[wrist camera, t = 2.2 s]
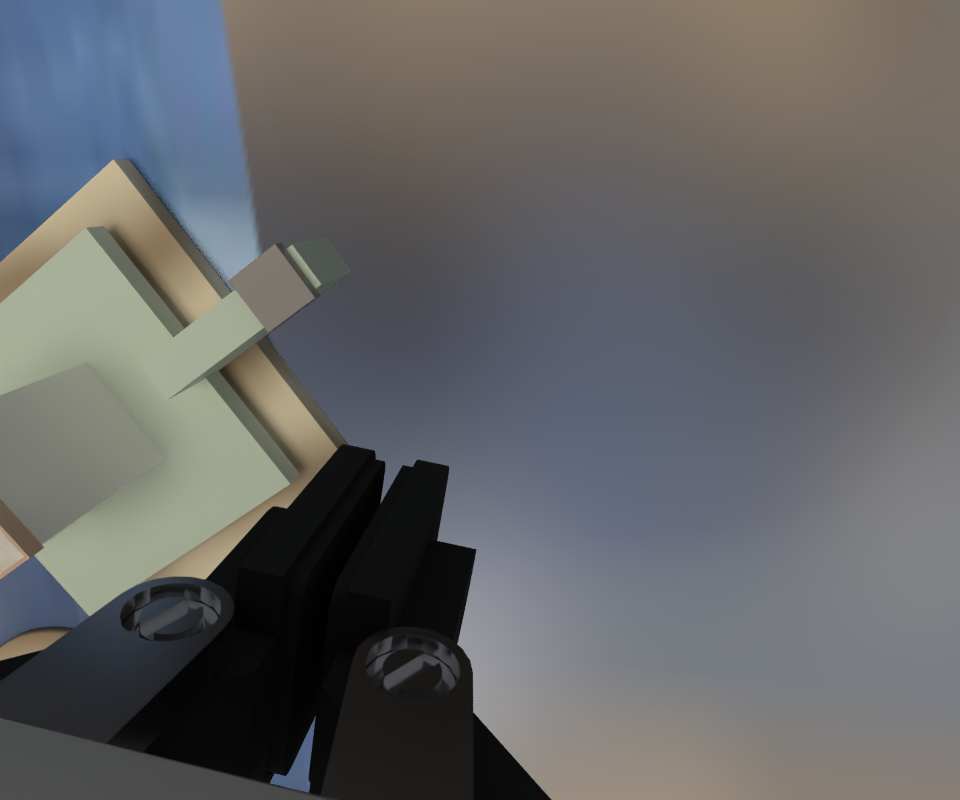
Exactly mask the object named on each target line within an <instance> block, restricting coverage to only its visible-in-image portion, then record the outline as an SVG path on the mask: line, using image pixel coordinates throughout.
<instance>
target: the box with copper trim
mask: <svg viewBox="0 0 960 800" xmlns="http://www.w3.org/2000/svg"><path fill="white" fill-rule="evenodd" d="M165 458H167V457H166V456H165V455H164V454H163V453H162V451H161V450H160V449H159V448H158V447H157V445H156V444H155V443H154V442H153V441H152V439H151V438H150V437H149V436H148V435H147V433H146V432H145V431H144V430H143V429H142V427H141V426H140V425H139V424H138V423H137V421H136V420H135V419H134V418H133V417H132V415H131V414H130V413H129V412H128V411H127V409H126V408H125V407H124V406H123V405H122V403H121V402H120V401H119V400H118V399H117V397H116V396H115V395H114V394H113V393H112V391H111V390H110V389H109V388H108V387H107V385H106V384H105V383H104V382H103V381H102V379H101V378H100V377H99V376H98V375H97V373H96V372H95V371H94V370H93V369H92V367H91V366H90V365H89V364H88V363H87V362H86V363H83V364H81V365H78V366H76V367H73V368H70V369H68V370H65V371H62V372H60V373H57V374H55V375H52V376H49V377H47V378H44V379H42V380H39V381H36V382H34V383H31V384H28V385H26V386H23V387H21V388H18V389H15V390H13V391H10V392H7V393H5V394H2V395H0V579H1V578H3V577H4V576H6V575H7V574H8V573H10V572H11V571H13V570H14V569H15V568H17V567H18V566H20V565H21V564H22V563H24V562H25V561H27V560H28V559H29V558H31V557H32V556H34V555H35V554H36V553H38V552H39V551H40V550H42V549H43V548H44V547H43V545H44V544H46V543H47V542H49V541H50V540H52V539H53V538H54V537H56V536H57V535H59V534H60V533H62V532H63V531H64V530H66V529H67V528H69V527H70V526H72V525H73V524H74V523H76V522H77V521H79V520H80V519H82V518H83V517H84V516H86V515H87V514H89V513H90V512H92V511H93V510H94V509H96V508H97V507H99V506H100V505H101V504H103V503H104V502H105V501H107V500H108V499H110V498H111V497H112V496H114V495H115V494H117V493H118V492H119V491H121V490H122V489H124V488H125V487H126V486H128V485H129V484H131V483H132V482H133V481H135V480H136V479H137V478H139V477H140V476H142V475H143V474H144V473H146V472H147V471H149V470H150V469H151V468H153V467H154V466H156V465H157V464H158V463H160V462H161V461H162V460H164V459H165Z"/></svg>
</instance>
